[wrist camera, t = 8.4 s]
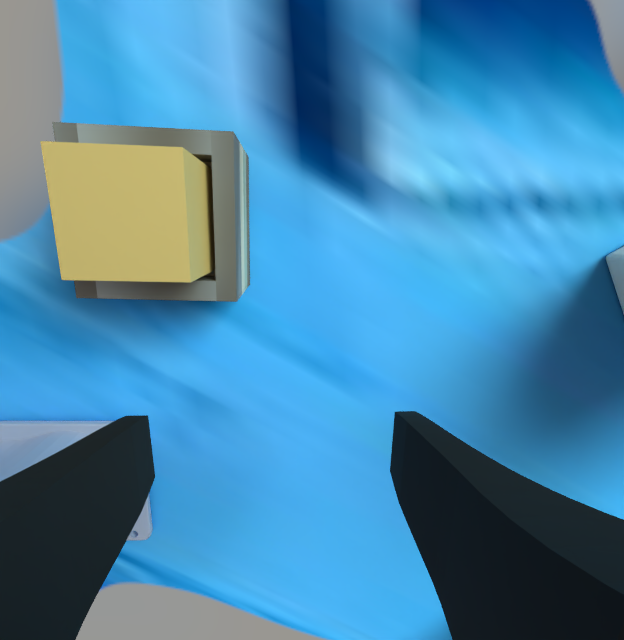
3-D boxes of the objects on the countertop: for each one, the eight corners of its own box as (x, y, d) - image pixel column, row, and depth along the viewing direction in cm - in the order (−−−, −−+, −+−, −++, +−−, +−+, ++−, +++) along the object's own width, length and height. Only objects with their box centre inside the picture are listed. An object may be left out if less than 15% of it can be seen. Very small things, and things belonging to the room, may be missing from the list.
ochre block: (121, 266, 15) (62, 280, 11) (110, 165, 14) (40, 141, 10) (216, 268, 15) (190, 282, 11) (212, 169, 14) (182, 147, 10)
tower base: (128, 281, 18) (76, 297, 14) (115, 150, 16) (52, 122, 12) (249, 284, 18) (236, 301, 14) (248, 156, 17) (233, 131, 12)
